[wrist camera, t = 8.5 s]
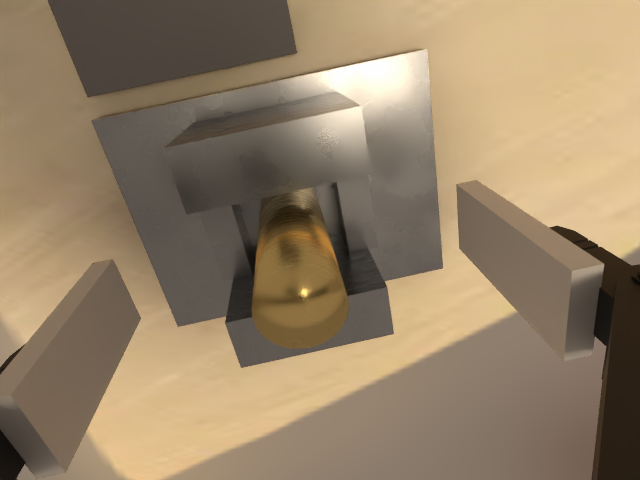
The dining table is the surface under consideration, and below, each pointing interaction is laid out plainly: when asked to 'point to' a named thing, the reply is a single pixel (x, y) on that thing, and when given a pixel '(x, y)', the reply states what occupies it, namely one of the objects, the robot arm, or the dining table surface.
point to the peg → (296, 273)
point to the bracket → (284, 188)
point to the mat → (168, 38)
